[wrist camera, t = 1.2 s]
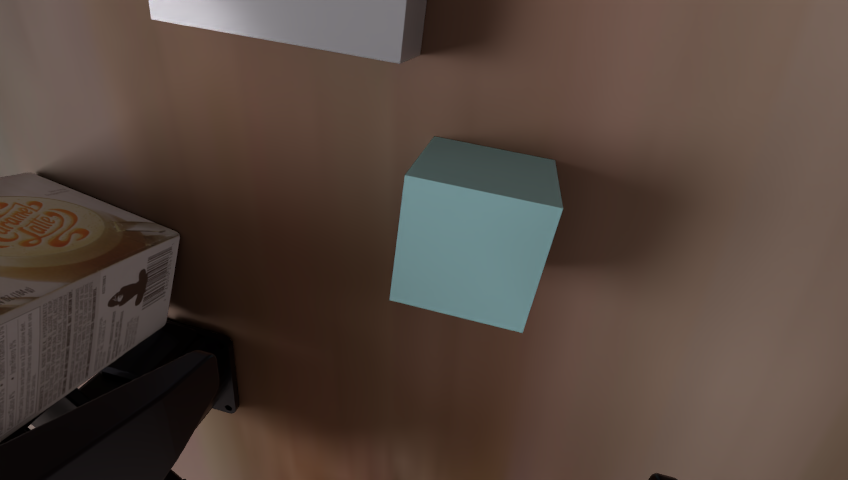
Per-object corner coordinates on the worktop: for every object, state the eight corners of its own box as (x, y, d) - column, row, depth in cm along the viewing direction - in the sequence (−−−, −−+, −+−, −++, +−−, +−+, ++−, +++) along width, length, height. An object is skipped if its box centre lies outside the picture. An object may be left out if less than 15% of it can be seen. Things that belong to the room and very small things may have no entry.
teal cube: (523, 263, 20) (522, 332, 16) (418, 239, 21) (389, 300, 16) (555, 159, 18) (563, 208, 13) (434, 135, 18) (404, 174, 14)
